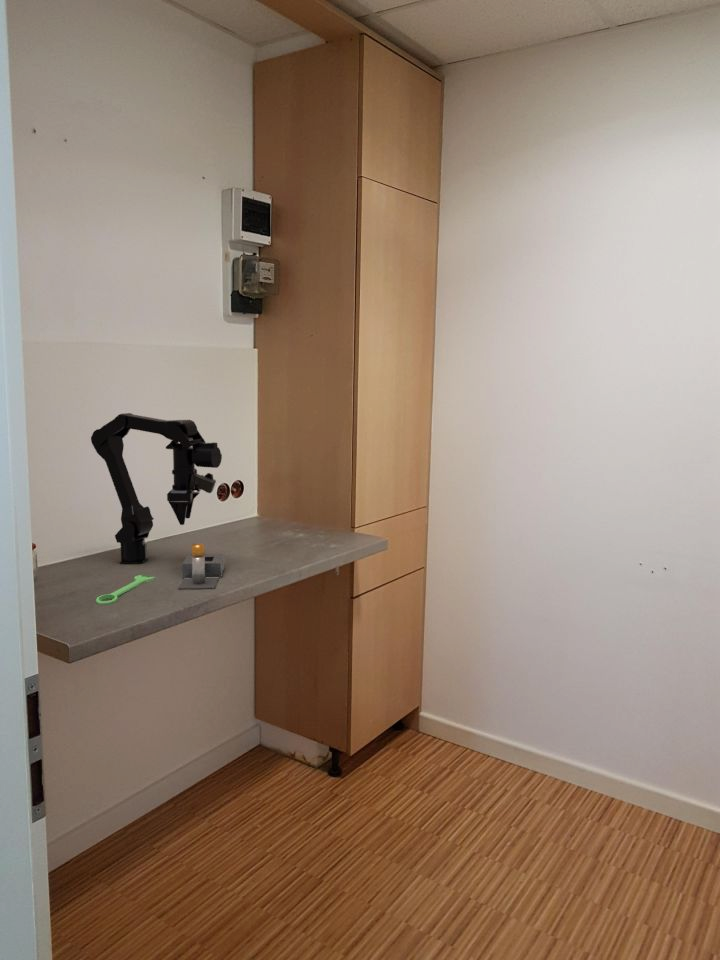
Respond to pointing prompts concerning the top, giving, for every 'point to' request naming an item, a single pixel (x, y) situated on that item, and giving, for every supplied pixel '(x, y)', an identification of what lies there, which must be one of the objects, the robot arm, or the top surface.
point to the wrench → (123, 589)
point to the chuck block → (206, 566)
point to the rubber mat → (189, 585)
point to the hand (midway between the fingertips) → (185, 521)
